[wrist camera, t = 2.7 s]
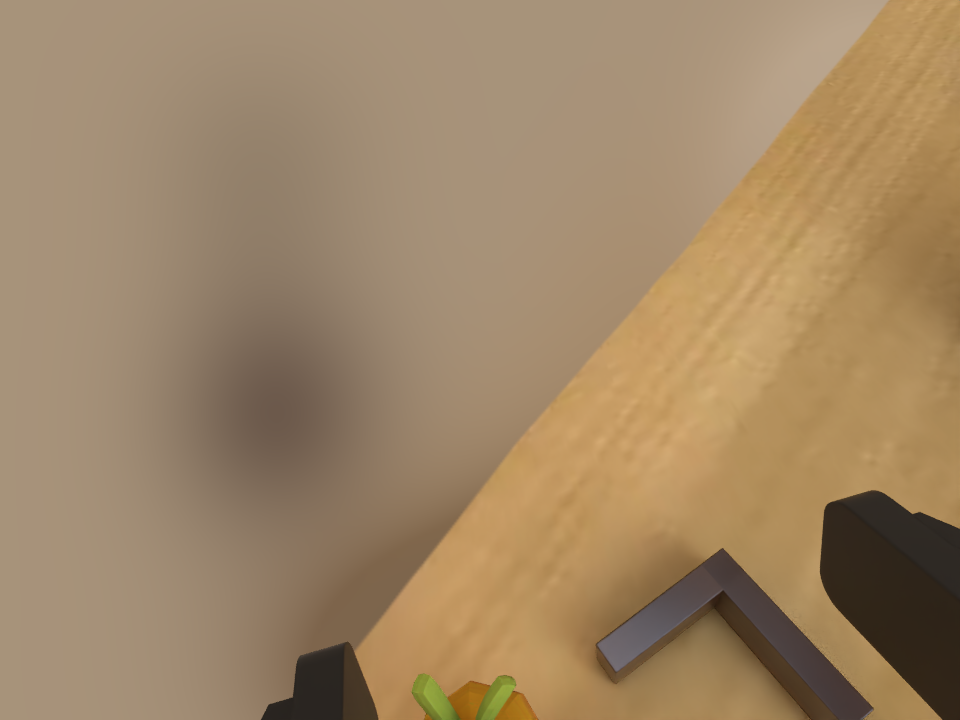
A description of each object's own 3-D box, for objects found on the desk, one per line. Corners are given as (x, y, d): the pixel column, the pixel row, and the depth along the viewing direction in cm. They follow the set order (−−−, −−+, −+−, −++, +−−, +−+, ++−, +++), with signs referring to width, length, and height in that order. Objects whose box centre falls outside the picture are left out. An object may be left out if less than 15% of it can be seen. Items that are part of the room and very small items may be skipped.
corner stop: (714, 567, 33) (722, 547, 30) (852, 718, 28) (874, 708, 25) (595, 657, 31) (595, 644, 28) (719, 835, 26) (731, 837, 24)
